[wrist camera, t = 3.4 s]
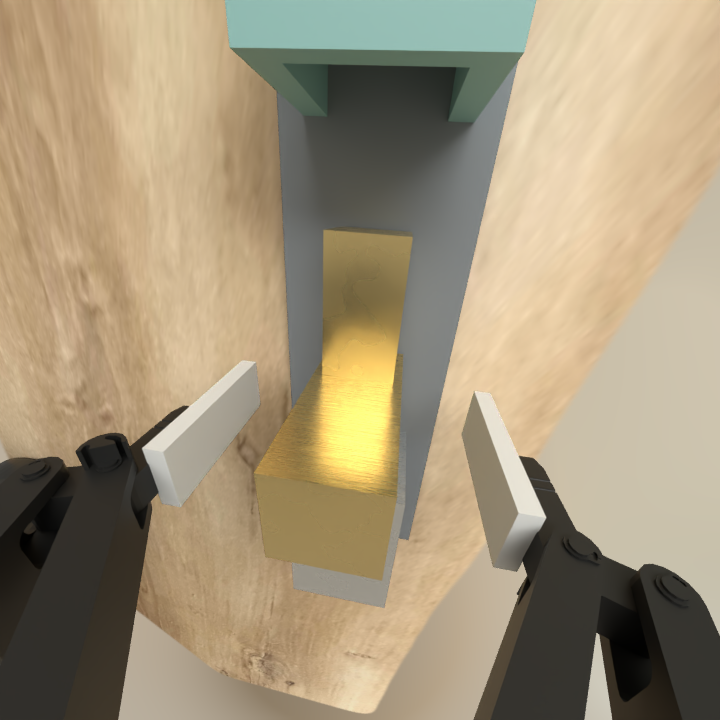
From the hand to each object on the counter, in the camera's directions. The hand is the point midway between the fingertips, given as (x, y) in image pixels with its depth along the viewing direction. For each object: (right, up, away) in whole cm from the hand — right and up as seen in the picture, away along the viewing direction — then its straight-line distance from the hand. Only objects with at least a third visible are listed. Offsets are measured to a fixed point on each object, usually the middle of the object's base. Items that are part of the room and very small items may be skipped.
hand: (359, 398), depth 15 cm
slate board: (+1, +3, +2) cm, 3 cm away
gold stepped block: (0, -1, +2) cm, 3 cm away
